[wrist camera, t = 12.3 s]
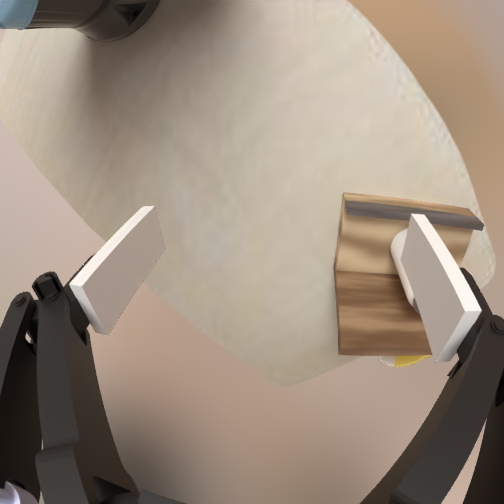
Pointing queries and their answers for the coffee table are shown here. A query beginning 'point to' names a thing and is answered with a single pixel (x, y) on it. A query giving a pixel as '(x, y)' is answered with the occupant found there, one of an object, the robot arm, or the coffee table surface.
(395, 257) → the can
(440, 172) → the coffee table surface
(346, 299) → the brown piece
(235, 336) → the coffee table surface
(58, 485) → the robot arm
